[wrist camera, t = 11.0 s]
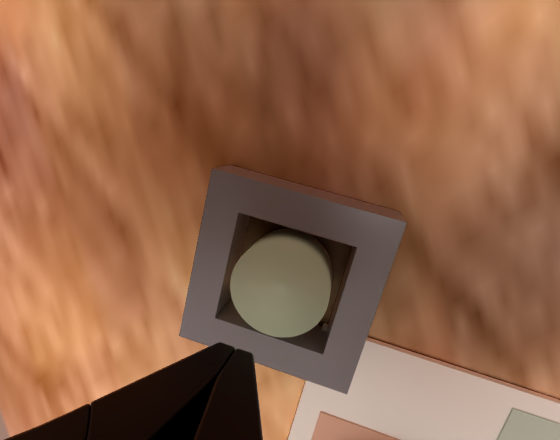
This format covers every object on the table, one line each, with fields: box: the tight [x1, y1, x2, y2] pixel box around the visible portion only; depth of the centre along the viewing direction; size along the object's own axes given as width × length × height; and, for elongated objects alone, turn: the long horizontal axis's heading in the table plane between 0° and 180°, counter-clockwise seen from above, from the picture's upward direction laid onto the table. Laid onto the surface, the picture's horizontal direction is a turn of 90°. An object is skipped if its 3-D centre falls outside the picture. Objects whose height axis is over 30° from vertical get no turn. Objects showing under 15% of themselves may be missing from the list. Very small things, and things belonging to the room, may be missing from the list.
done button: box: [230, 229, 333, 337], centre depth 14 cm, size 4×4×2 cm
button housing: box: [179, 165, 407, 394], centre depth 14 cm, size 7×7×2 cm
